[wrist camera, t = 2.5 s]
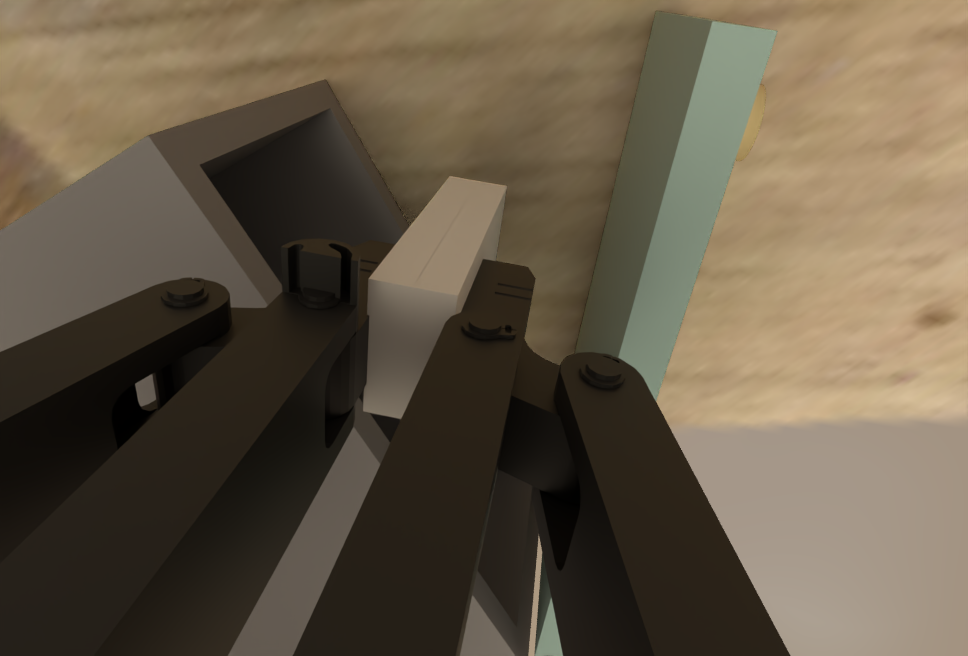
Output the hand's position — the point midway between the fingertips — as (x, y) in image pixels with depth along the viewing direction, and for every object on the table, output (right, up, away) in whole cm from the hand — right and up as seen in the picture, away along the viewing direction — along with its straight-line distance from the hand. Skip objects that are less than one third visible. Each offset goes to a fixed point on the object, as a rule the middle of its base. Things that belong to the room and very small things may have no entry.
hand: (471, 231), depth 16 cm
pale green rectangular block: (+6, -1, +9) cm, 11 cm away
